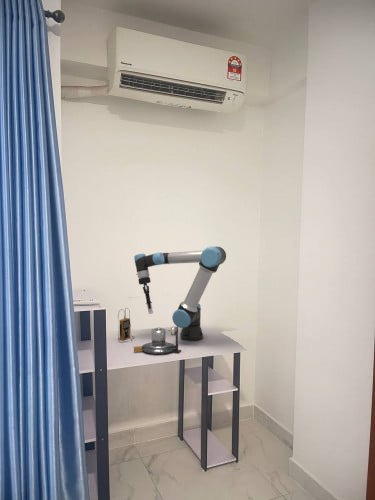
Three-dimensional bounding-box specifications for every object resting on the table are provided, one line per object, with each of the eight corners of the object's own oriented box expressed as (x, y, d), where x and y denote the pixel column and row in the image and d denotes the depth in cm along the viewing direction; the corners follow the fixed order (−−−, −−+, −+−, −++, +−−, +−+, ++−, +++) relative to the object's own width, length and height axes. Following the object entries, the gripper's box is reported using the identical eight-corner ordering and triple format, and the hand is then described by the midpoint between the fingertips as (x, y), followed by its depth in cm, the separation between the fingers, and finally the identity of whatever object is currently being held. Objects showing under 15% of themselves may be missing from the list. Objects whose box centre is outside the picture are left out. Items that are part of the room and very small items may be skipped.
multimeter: (127, 344, 226) (127, 311, 226) (115, 341, 232) (115, 310, 231) (142, 338, 239) (142, 308, 238) (130, 336, 244) (130, 306, 244)
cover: (165, 343, 221) (165, 325, 221) (169, 348, 211) (170, 329, 210) (147, 344, 218) (147, 326, 218) (151, 350, 207) (151, 331, 207)
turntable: (170, 343, 227) (170, 339, 227) (179, 352, 209) (179, 348, 208) (131, 346, 220) (131, 342, 220) (137, 356, 201) (137, 352, 201)
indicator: (181, 351, 213) (181, 326, 212) (178, 353, 208) (178, 328, 208) (169, 349, 215) (170, 325, 215) (166, 352, 210) (166, 327, 210)
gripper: (138, 279, 243) (145, 314, 240) (138, 278, 230) (145, 315, 228) (149, 277, 244) (156, 312, 242) (149, 275, 231) (157, 312, 229)
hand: (150, 313), depth 235 cm, fingers closed
